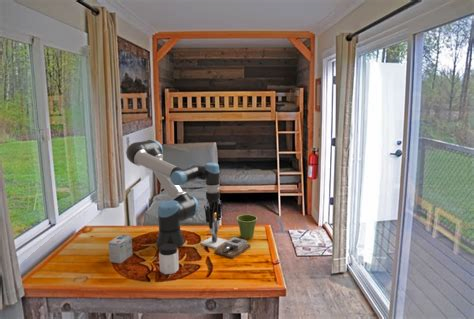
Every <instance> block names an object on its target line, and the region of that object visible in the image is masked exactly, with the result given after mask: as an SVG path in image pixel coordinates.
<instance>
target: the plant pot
mask: <svg viewBox="0 0 474 319" xmlns="http://www.w3.org/2000/svg"><path fill="white" fill-rule="evenodd" d="M236 220H237V224H238V227H239V234H240V237H241V239H251V238H254V233H255V227H256V223H257V220H258V217H257V216H255V215H253V214H240V215H237V217H236Z"/></svg>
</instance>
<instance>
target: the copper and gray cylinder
mask: <svg viewBox="0 0 474 319" xmlns="http://www.w3.org/2000/svg"><path fill="white" fill-rule="evenodd" d="M213 222H214V234H211V237H212V241H217V237H218V232H217V214H216V212H214V215H213Z"/></svg>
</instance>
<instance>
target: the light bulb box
mask: <svg viewBox="0 0 474 319" xmlns="http://www.w3.org/2000/svg"><path fill="white" fill-rule="evenodd" d="M107 244H108V251H109V254H108V255H109V262H110V263H116V264H122V263H123V262H125V261H126V260H127V259H130V258H131V257H132V256H133V241H132V235H127V234H120V235H118V236H116V237H115V238H113V239H111V240H110V241H108V243H107Z"/></svg>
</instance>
